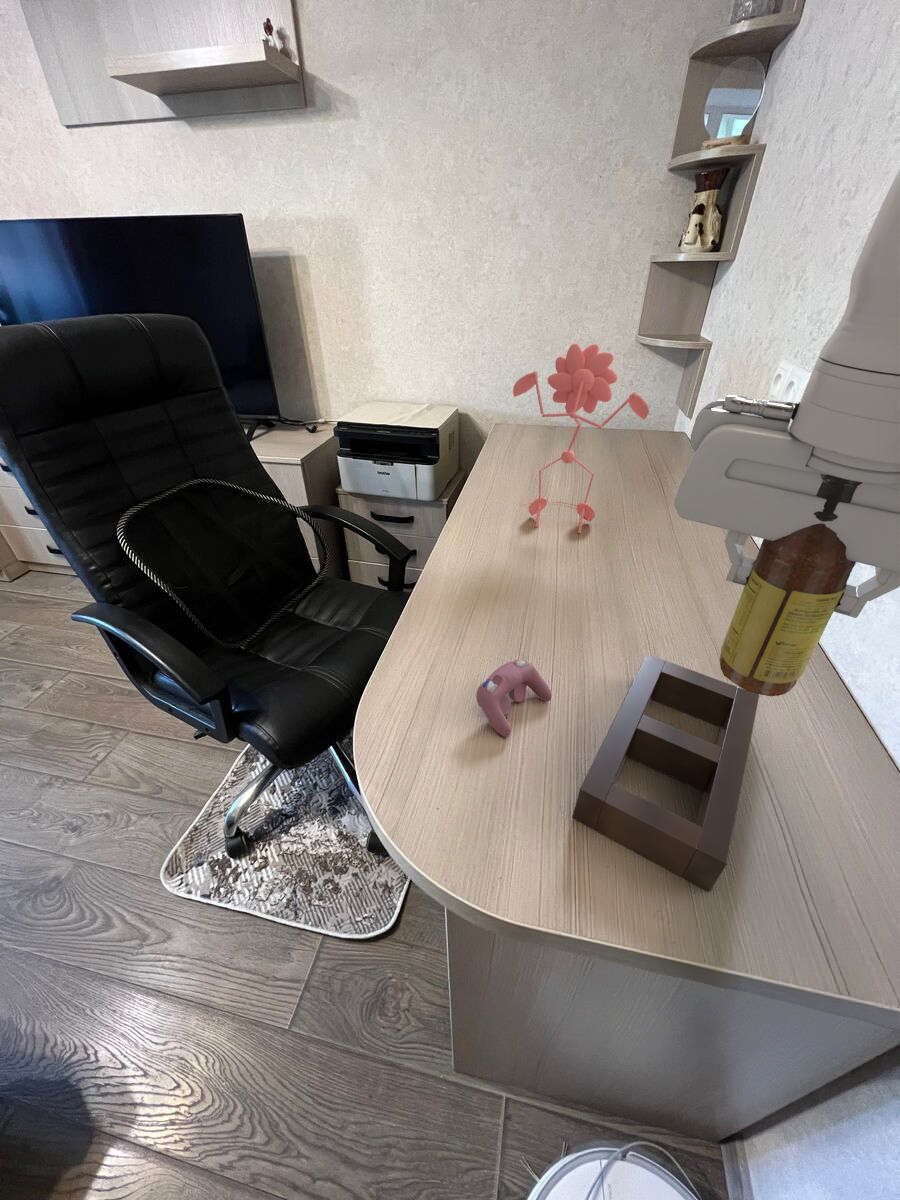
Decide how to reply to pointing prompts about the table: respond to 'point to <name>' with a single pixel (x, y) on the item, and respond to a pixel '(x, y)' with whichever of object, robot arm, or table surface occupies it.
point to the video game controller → (509, 691)
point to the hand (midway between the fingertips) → (788, 595)
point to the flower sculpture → (578, 403)
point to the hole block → (673, 771)
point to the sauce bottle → (788, 601)
